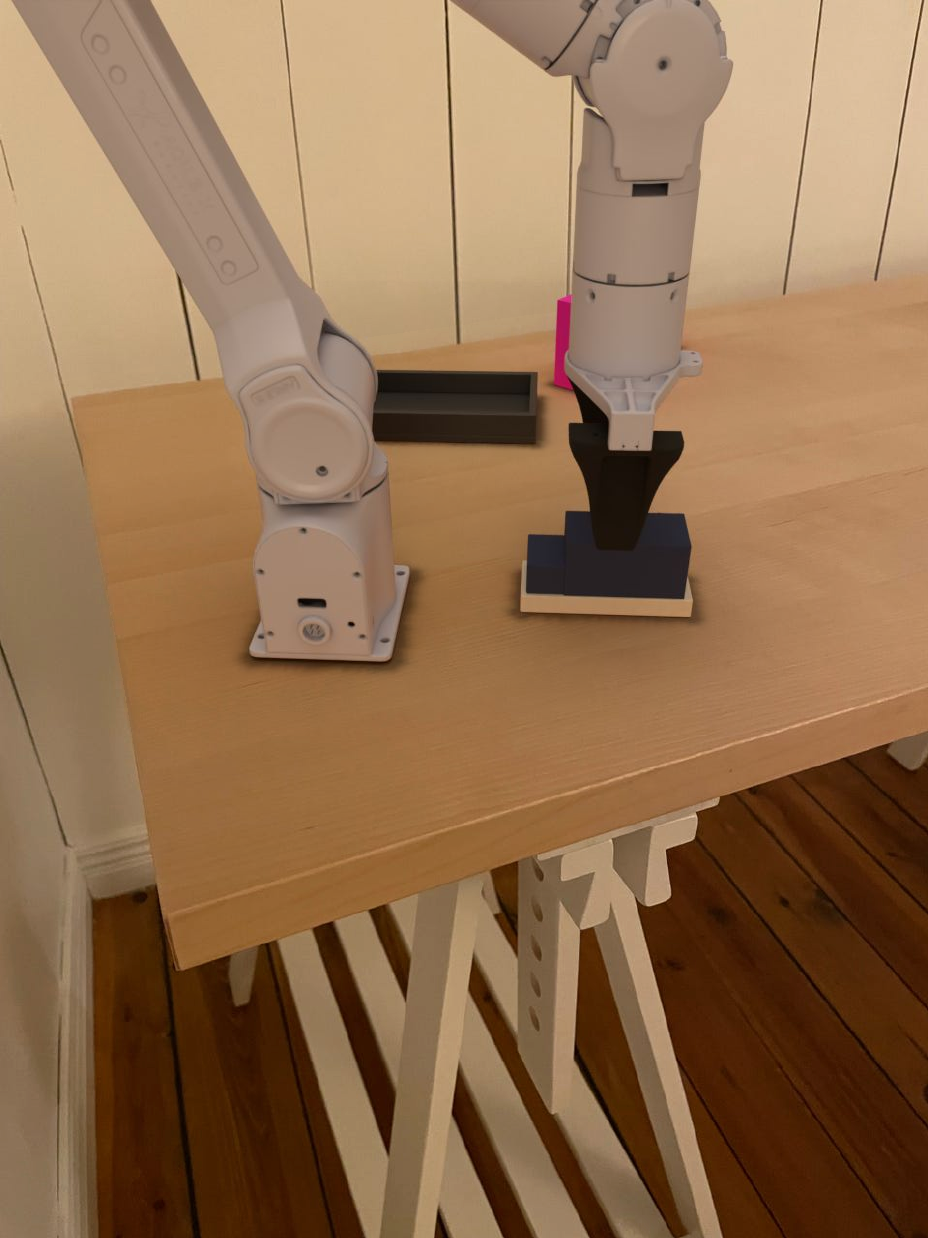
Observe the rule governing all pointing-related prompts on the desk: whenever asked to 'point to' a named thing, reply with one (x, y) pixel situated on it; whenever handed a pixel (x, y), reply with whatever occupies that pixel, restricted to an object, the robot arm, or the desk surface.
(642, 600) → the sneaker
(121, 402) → the desk surface
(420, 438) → the tray
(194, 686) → the desk surface
